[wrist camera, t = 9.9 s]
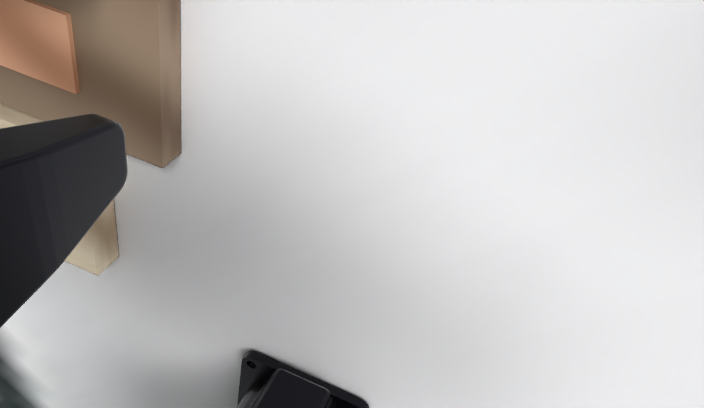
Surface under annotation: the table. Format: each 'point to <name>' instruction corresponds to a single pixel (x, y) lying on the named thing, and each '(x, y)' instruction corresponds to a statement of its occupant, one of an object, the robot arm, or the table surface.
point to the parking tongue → (102, 236)
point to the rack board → (97, 66)
